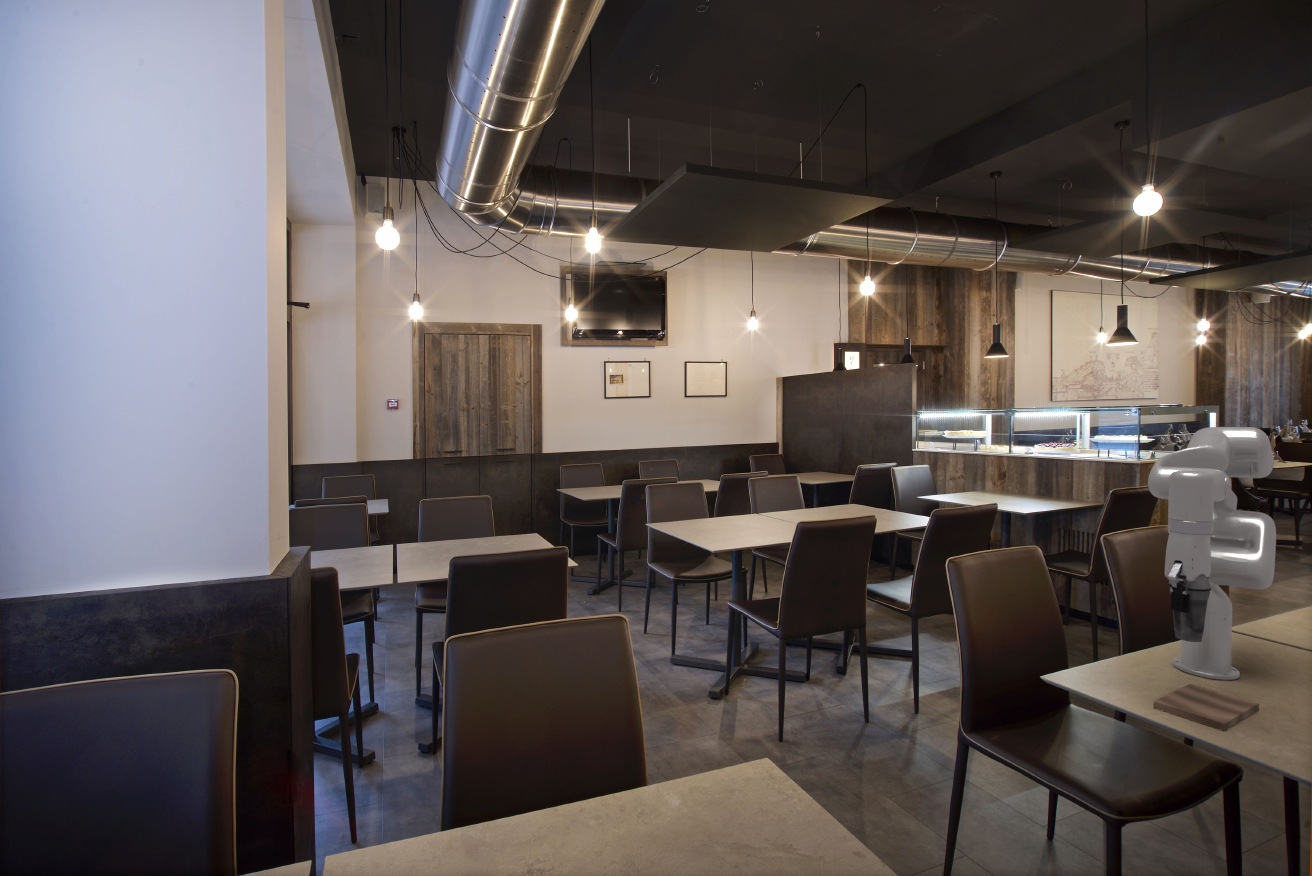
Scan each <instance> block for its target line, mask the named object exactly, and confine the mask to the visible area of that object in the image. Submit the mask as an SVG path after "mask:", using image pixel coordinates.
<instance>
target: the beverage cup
mask: <svg viewBox="0 0 1312 876" xmlns="http://www.w3.org/2000/svg"><path fill="white" fill-rule="evenodd" d="M1179 578H1181V579H1186V578H1185V577H1179ZM1179 583H1181V584H1182V586H1183V587H1184V584H1185V583H1182V582H1179ZM1167 585H1168V589H1169V594H1170V595H1171V591H1170V588H1171V586H1170V582H1169V581H1168V583H1167ZM1210 590H1211V587H1210V583H1209V580H1208V578H1207V577H1206V576H1205V575H1204V574H1201V575H1200V576H1199V577H1198V578H1197V579H1196V581H1193V582H1190V587H1189V591H1188V594H1189V595H1190V612H1189V613H1184V612H1179V611H1175V610H1172V609H1171V610H1172V618H1173V619H1172V620H1173V629H1174V634H1175V638H1176V639H1179V640H1180V641H1181V640H1184V641H1189V642H1201V641H1202V637H1203V632H1204V624H1205V617H1206V609H1207V601H1208V599H1209V595H1210Z"/></svg>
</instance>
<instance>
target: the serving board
mask: <svg viewBox="0 0 1312 876" xmlns="http://www.w3.org/2000/svg"><path fill="white" fill-rule="evenodd" d="M1155 708H1156V710H1158V709H1159V711H1161V710H1163V711H1162V712H1164V711H1167V712H1170V713H1172V714H1171V715H1173V714H1174V716H1177V717H1179V718H1183V719H1187V720H1189V721H1192V722H1194V723H1195V722H1196V723H1198V724H1201V725H1205V726H1208V727H1211V728H1213V729H1216V728H1217V729H1216V730H1219V729H1221V730H1220V731H1222V730H1224V731H1223V732H1225V730H1226V729H1227V730H1229V729H1230V728H1233V725H1234V726H1235V725H1237V724H1238V723H1241V722H1242V721H1244V720H1245V719H1247V718H1248V717H1250V716H1251V715H1253V714H1255V713H1256V712H1258V711H1259V710H1260V703H1259V702H1255V701H1252V700H1248V699H1245V698H1241V697H1239V696H1235V695H1231V694H1228V693H1224V692H1221V691H1218V690H1215V689H1211V688H1207V687H1205V686H1200V685H1196V684H1193V683H1189V684H1187V685H1185V686H1182V687H1180V688H1178V689H1176V690H1174V691H1171V692H1169V693H1168V694H1166V695H1164V696H1161V697H1159V698H1158V699H1155V700H1153V709H1155ZM1167 712H1166V713H1167ZM1170 713H1169V714H1170ZM1228 728H1229V729H1228ZM1227 730H1226V731H1227Z"/></svg>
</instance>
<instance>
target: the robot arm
mask: <svg viewBox="0 0 1312 876" xmlns="http://www.w3.org/2000/svg"><path fill="white" fill-rule="evenodd" d="M1272 449H1273V448H1272V444H1271V441H1270V439H1269V436H1268V435H1267V434H1266V432H1264V431H1263V430H1262V429H1260V428H1257V427H1253V426H1211V427H1204V428H1201V429H1198V430H1197V431H1196V432H1194V433H1193V434H1192V435H1191V437H1190V439H1189V442H1188V444H1187V446H1186V448H1183V449H1180V450H1177V451H1174V452H1171V453H1168V454H1164V455H1162V456H1161V457H1159V458H1158V459H1157V460H1156V461H1155V462H1154V464H1153V466H1152V468H1151V470H1150V472H1149V474H1148V479H1147V484H1148V485H1147V486H1148V490H1149V492H1150V494H1151V495H1152V496H1154V497H1155V498H1158V499H1161V500H1167V501H1168V509H1167V511H1168V513H1167V522H1168V523H1167V533H1168V537H1167V544H1166V548H1165V562H1164V577H1165V578H1167V580H1168V583H1169V582H1170V586H1171V588H1170V590H1169V592H1170V591H1171V594H1170V609H1171V610H1175V611H1179V612H1184V613H1189V612H1190V595H1189V594H1188V591H1189V587H1190V582H1193V581H1196V579H1197V578H1198V577H1199V576H1200V575H1201V574H1204V575H1205V576H1206V577H1207V578H1208V580H1209V583H1210V587H1211V590H1210V595H1209V599H1208V601H1207V609H1206V617H1205V624H1204V632H1203V637H1202V641H1201V642H1189V641H1184V640H1181V639H1180V643H1181V644H1180V656H1177V657H1174V658H1173V660H1172V665H1173V666H1174V667H1175V668H1176V669H1177V670H1180V671H1183V672H1185V673H1188V674H1191V675H1193V676H1197V677H1202V678H1206V679H1211V680H1212V679H1213V680H1222V681H1234V680H1237V679H1239V678H1240V677H1241V675H1240V674H1241V672H1240V670H1239V669H1237V668H1236V667H1234V666H1232V657H1233V653H1232V651H1233V650H1232V646H1233V645H1232V644H1233V641H1232V640H1233V636H1232V635H1233V604H1232V601H1231V599H1230V597H1229V596H1228V594H1227V593H1226V592H1225V591H1224V589H1222V587H1220V586H1228V587H1236V588H1241V589H1252V590H1265V589H1268V588H1270V586H1271V585H1272V584H1273V582H1274V576H1275V567H1276V566H1275V564H1276V563H1275V562H1276V547H1277V546H1276V545H1277V529H1276V523H1275V520H1273V518H1272V517H1271V516H1270V515H1268V514H1267V513H1265V512H1260V511H1259V512H1258V511H1252V510H1251V511H1250V510H1241V509H1238V510H1237V505H1238V496H1237V495H1236V494H1235V492H1234V491H1233V490H1232V480H1231V478H1241V479H1242V478H1244V479H1245V478H1246V479H1263V478H1266V477H1268V476H1269V475H1270V474H1271V473H1272V471H1273V470H1274V469H1273V468H1274V460H1275V459H1274V455H1273V450H1272ZM1179 577H1185V578H1186V579H1181V578H1179ZM1179 582H1182V583H1185V584H1184V587H1183V586H1182V584H1181V583H1179Z"/></svg>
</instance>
